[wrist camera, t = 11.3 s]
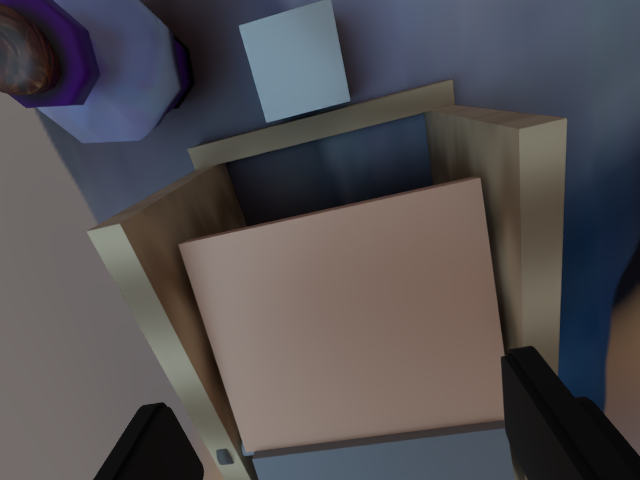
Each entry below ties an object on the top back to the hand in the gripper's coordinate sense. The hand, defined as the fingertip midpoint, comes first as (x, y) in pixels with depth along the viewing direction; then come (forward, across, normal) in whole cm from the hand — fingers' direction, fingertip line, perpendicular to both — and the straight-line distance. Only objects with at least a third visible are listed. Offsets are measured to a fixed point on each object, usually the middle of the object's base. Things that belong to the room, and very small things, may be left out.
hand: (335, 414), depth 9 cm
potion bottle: (+19, +10, -13) cm, 25 cm away
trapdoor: (+10, 0, +6) cm, 11 cm away
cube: (+14, 0, -10) cm, 17 cm away
